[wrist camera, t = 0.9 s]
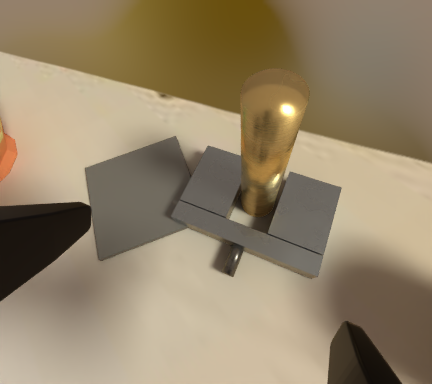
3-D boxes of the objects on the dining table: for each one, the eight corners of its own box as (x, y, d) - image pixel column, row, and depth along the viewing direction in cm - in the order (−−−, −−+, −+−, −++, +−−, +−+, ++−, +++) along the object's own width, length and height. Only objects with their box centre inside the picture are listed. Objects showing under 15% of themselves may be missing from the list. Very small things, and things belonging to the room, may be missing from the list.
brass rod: (248, 221, 22) (257, 128, 10) (236, 193, 23) (230, 81, 11) (279, 210, 22) (322, 104, 10) (265, 182, 23) (290, 60, 12)
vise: (303, 309, 19) (308, 310, 17) (163, 246, 22) (157, 242, 20) (334, 196, 22) (341, 187, 21) (210, 155, 25) (207, 145, 24)
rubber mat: (101, 260, 22) (98, 260, 21) (87, 170, 26) (85, 168, 26) (206, 220, 22) (206, 219, 22) (176, 138, 27) (175, 136, 26)
